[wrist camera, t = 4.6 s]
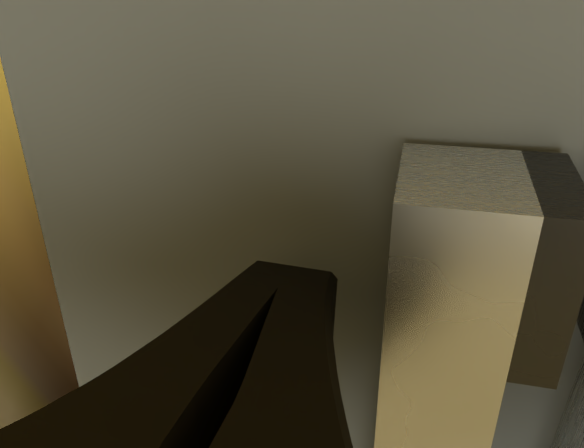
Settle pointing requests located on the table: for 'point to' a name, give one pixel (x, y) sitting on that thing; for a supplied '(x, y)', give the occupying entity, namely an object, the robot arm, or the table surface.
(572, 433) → the base
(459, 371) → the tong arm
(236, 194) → the mat
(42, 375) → the table surface
